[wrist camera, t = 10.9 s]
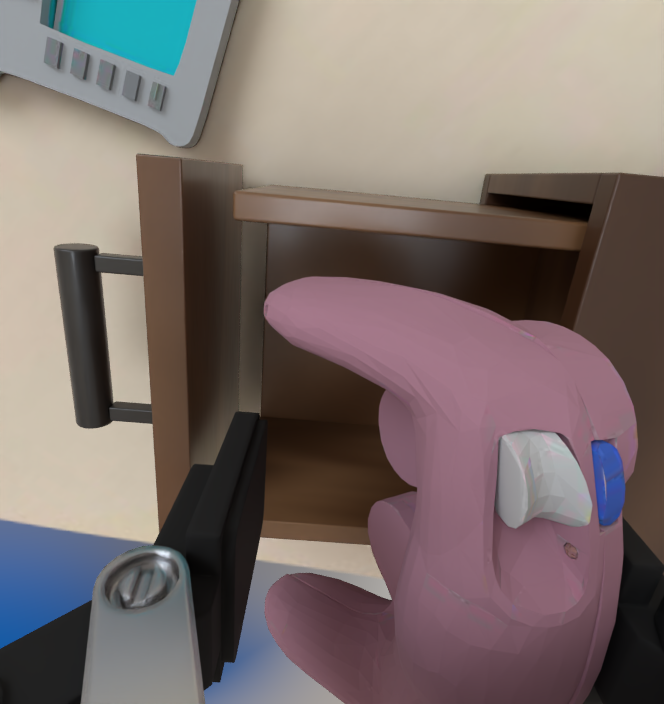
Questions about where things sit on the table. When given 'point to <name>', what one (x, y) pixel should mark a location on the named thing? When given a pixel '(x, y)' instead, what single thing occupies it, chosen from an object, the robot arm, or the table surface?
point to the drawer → (278, 353)
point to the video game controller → (467, 503)
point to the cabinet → (615, 303)
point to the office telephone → (123, 55)
